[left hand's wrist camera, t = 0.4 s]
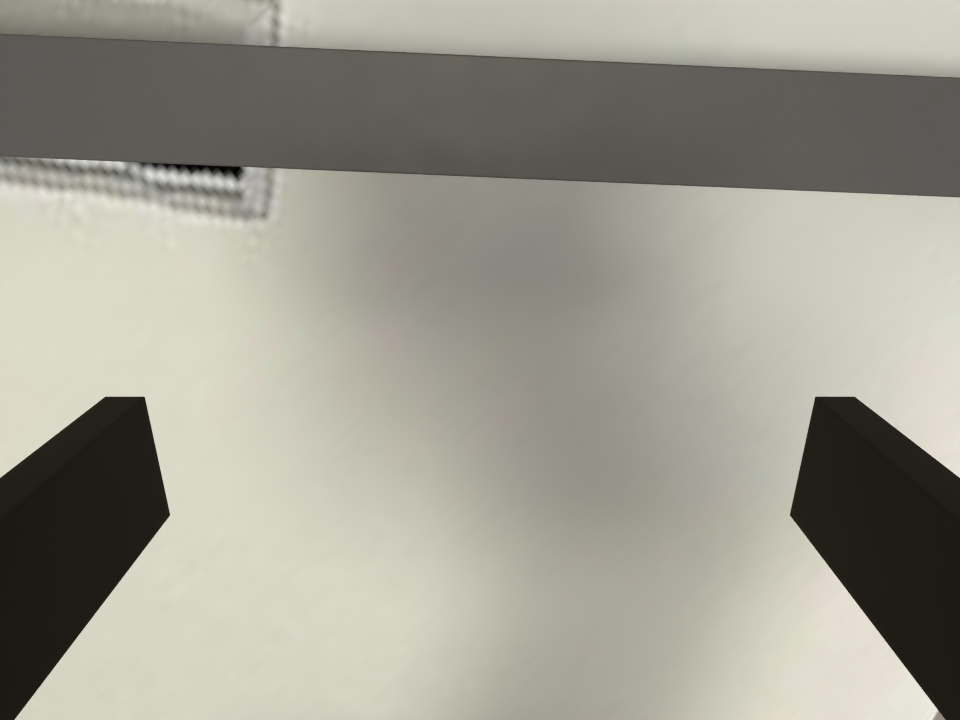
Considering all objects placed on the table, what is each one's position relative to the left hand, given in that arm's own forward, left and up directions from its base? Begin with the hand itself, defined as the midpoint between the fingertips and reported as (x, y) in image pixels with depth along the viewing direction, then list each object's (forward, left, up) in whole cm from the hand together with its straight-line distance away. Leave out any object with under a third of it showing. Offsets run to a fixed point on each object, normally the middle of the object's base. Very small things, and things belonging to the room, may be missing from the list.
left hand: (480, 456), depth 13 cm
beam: (+5, +8, -27) cm, 28 cm away
